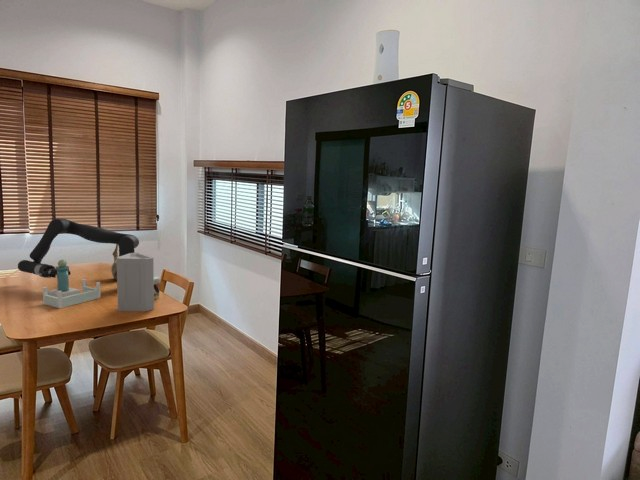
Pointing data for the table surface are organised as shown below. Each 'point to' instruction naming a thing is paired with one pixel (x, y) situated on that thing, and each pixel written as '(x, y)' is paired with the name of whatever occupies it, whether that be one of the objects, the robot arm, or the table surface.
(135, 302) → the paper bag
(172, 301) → the table surface
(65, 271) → the teal peg with ball
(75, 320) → the table surface
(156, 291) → the coffee cup
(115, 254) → the ceramic vessel
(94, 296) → the rectangular frame with posts
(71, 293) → the stone tile
